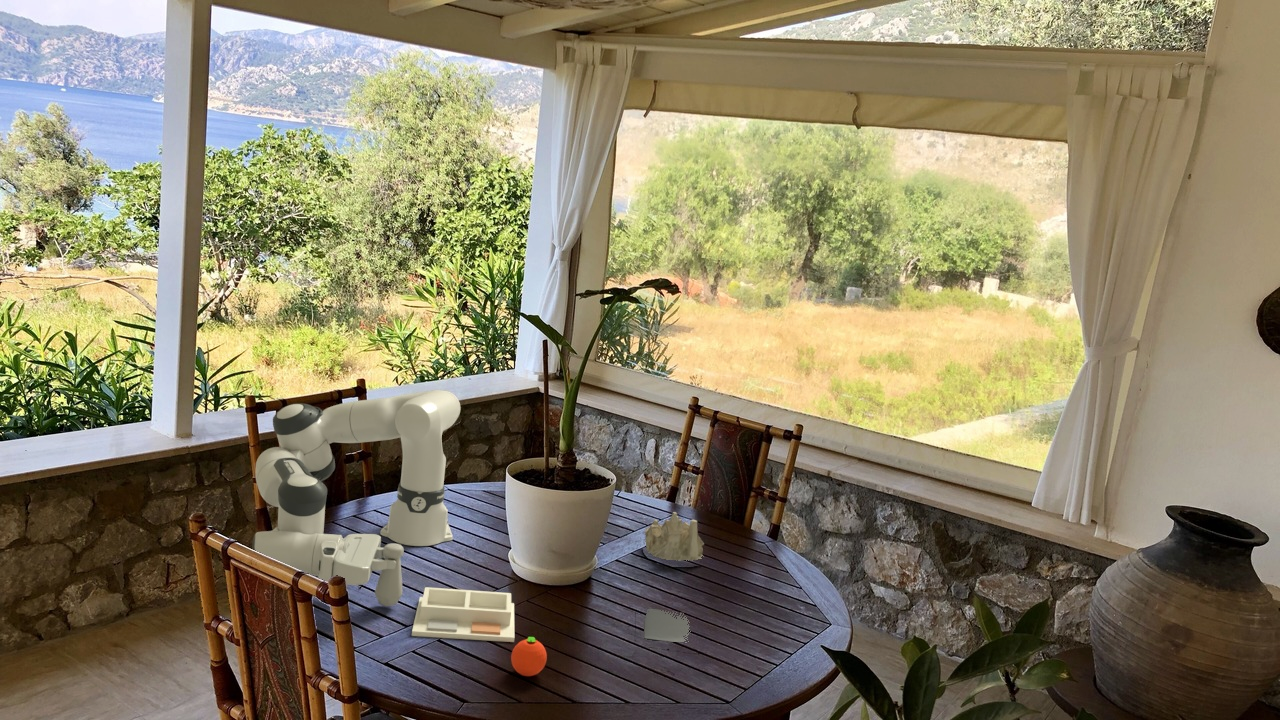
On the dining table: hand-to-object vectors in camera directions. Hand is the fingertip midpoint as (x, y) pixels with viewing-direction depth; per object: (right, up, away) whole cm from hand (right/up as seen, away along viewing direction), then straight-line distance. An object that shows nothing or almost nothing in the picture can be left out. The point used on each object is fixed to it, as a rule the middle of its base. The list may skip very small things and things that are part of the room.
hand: (397, 560), depth 197 cm
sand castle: (+61, -12, +56) cm, 84 cm away
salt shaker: (-2, -10, +1) cm, 10 cm away
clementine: (+30, -18, -18) cm, 40 cm away
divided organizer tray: (+15, -13, 0) cm, 20 cm away
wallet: (+59, -19, +10) cm, 62 cm away
